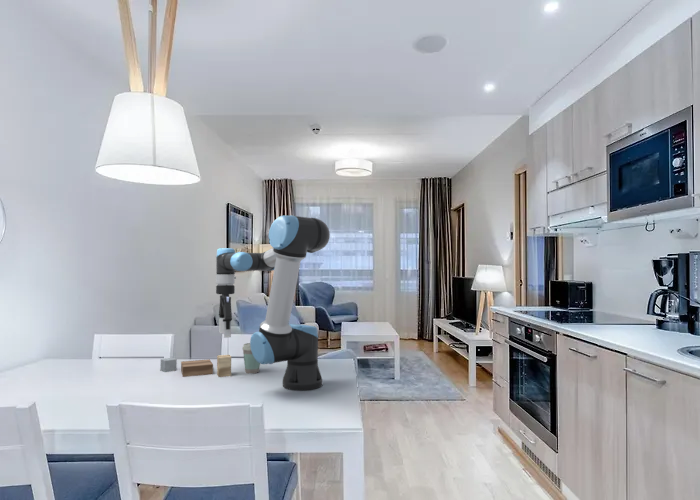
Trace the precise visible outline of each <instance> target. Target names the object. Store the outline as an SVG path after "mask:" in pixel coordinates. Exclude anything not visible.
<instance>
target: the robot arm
mask: <svg viewBox="0 0 700 500" xmlns="http://www.w3.org/2000/svg"><path fill="white" fill-rule="evenodd" d="M330 238H331V234H330V229H329V227H328V226H327V224H326V223H325V222H324V221H323V220H321V219H319V218H316V217H307V216H306V217H305V216H297V215H280V216H278V217H277V218H276V219H274V221H273V222H272V223H271V225H270V228H269V231H268V239H269V241H268V242H269V245H270V246H271V247H272V248H270V249H268V250H266V251H264V252H245V251H238V252H236V250H235V249H234V248H232V247H228V248H227V247H223V248H221V247H220V248H218V249H217V250H216V256H215V258H216V260H215V262H216V269H215V270H216V274H215V284H216V286H215V288H216V289H215V290H216V291H215V293H216V294H217V295H219V309H218V317H219V326H218V330H219V331H218V333H219V334H223V338H224V339H227V338H232V320H233V314H232V297H231V296H230V295H234V294H235V291H236V290H235V289H236V288H235V287H236V286H235V285H234V284H235V281H236V279H237V276H235V274H236V273H235V272H236V271H237V272H245V271H247V272H249V271H250V272H252V271H253V272H254V271H255V272H256V271H257V272H258V271H259V272H261V271H262V272H264V271H265V272H270V271H273V275H272V280H271V286H270V291H269V296H268V304H267V309H266V313H265V320H263V321H262V322H261V323H259V328H258V329H259V330H258V331H255V332H254V333H252V335H251V337H250V340H249V343H250V347H251V351H252V354H253V356H254V358H255V360H256V361H257V362H258V363H260V365H268V364H269V365H272V364H275V363H276V364H277V363H281V362H286V361H287V363H286V368H285V370H284V371H285V372H284V375H283V378H282V387H283V388H284V389H286V390H292V391H309V390H310V391H311V390H316V389H318V388H321V387H322V386H323V377H322V374H321V371H320V367H319V364H318V363H319V362H318V361H319V354H318V353H319V336H318V333H319V331H318V328H317V327H316V326H313V325H307V324H296V323H290V320H291V315H292V310H293V305H294V298H295V293H296V290H297V289H296V288H297V284H298V283H297V282H298V277H299V273H300V272H299V271H300V267H301V262H302V261H303V260H304V259H306V258H307V253H309V254H313V253H316V252H318V251H321V250H323V249H324V248H325V247H326V246H327V245H328V243H329V241H330Z"/></svg>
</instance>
